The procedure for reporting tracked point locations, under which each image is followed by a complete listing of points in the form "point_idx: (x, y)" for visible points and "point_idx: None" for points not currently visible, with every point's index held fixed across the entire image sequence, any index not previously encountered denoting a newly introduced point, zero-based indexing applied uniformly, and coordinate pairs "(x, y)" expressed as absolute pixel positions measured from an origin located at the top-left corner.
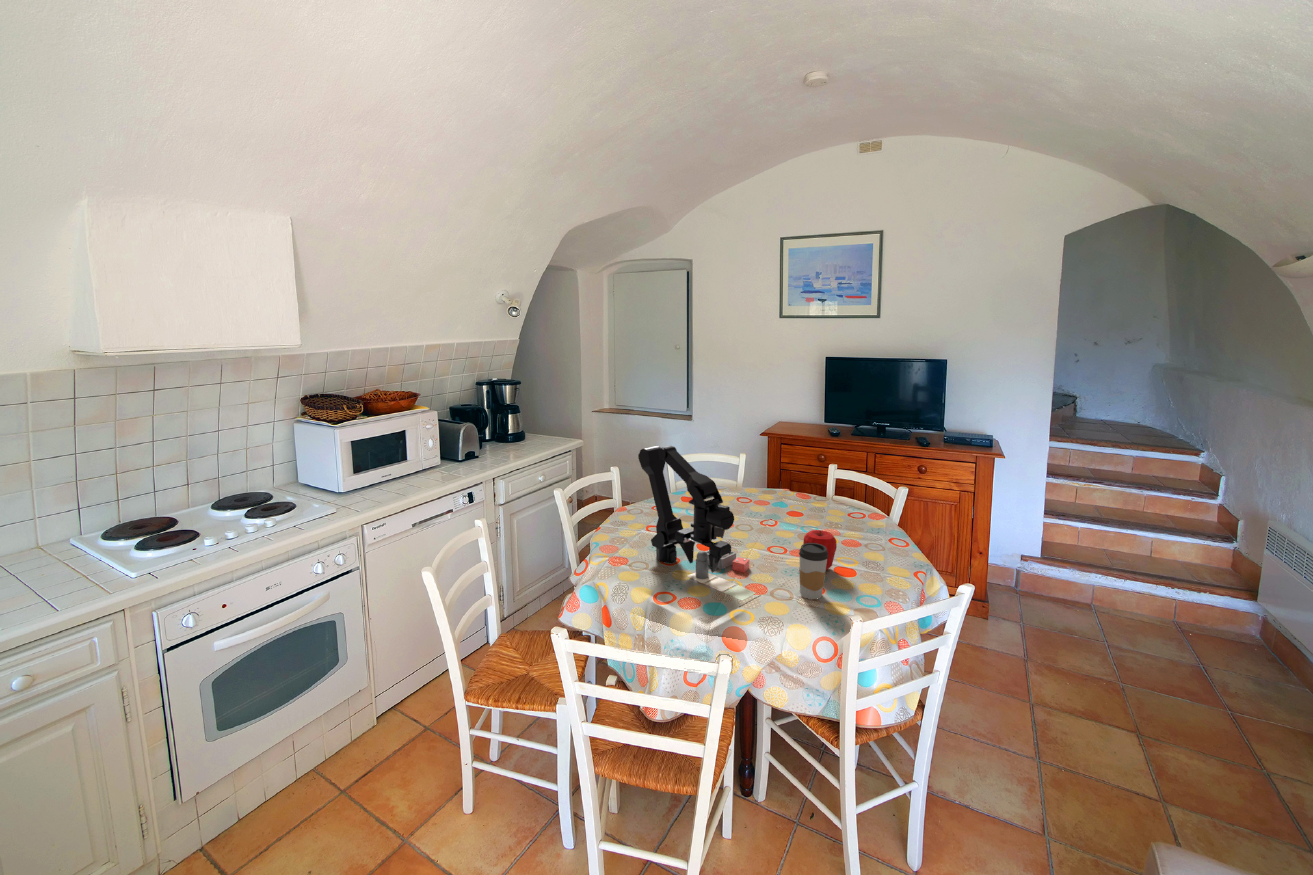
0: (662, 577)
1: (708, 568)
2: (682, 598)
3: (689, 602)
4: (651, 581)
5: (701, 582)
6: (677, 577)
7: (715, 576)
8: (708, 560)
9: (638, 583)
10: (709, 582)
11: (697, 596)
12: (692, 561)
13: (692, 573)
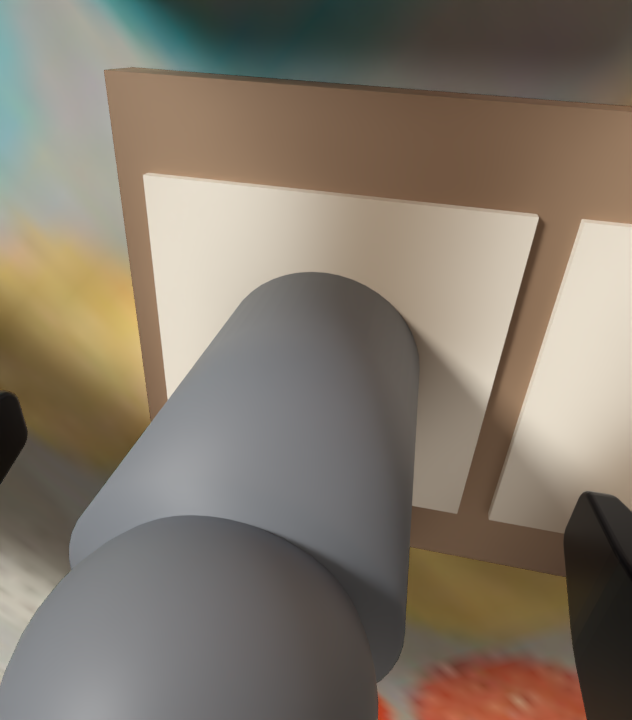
0: (18, 505)
1: (406, 429)
2: (423, 691)
3: (514, 716)
4: (37, 588)
5: (428, 504)
6: (94, 440)
7: (506, 242)
8: (379, 575)
9: (17, 638)
10: (525, 458)
11: (521, 635)
12: (2, 411)
13: (166, 371)
